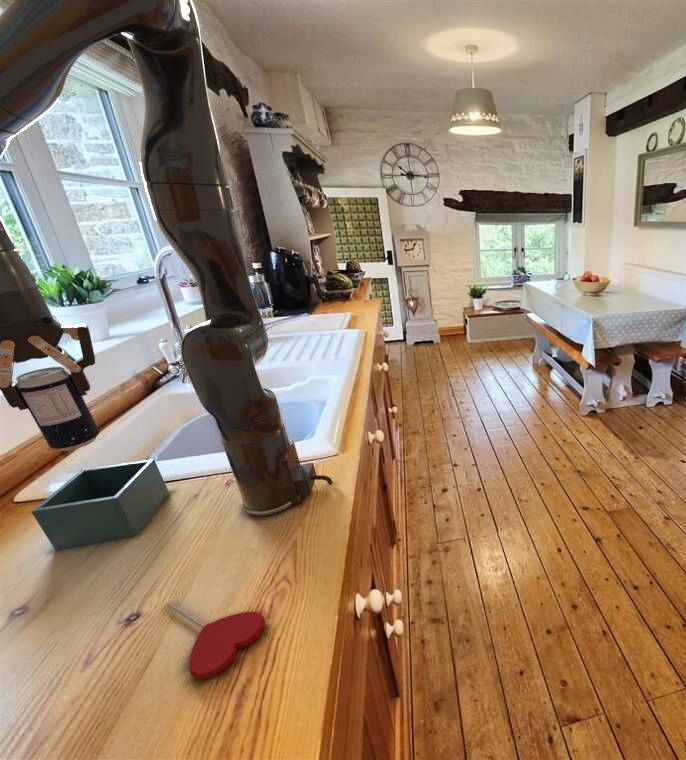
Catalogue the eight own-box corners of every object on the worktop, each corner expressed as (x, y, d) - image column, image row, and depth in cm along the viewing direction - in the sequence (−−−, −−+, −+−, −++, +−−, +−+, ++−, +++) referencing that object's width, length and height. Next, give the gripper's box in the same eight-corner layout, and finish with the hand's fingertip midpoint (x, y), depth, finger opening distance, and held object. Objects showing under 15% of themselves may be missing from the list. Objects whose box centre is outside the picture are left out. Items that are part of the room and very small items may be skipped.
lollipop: (133, 634, 51) (207, 688, 44) (130, 629, 50) (204, 682, 44) (202, 582, 57) (274, 623, 51) (199, 578, 57) (272, 618, 51)
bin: (169, 493, 76) (154, 458, 73) (136, 535, 66) (116, 498, 63) (100, 504, 74) (81, 469, 71) (54, 549, 64) (30, 511, 61)
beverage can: (111, 434, 66) (78, 365, 62) (74, 454, 61) (35, 380, 56) (81, 433, 67) (45, 365, 62) (41, 453, 62) (-1, 380, 57)
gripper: (-103, 301, 47) (-23, 427, 54) (69, 282, 56) (120, 392, 63) (-85, 293, 52) (-14, 409, 59) (70, 277, 61) (117, 380, 68)
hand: (55, 400), depth 61 cm, fingers closed on beverage can, 5 cm apart
